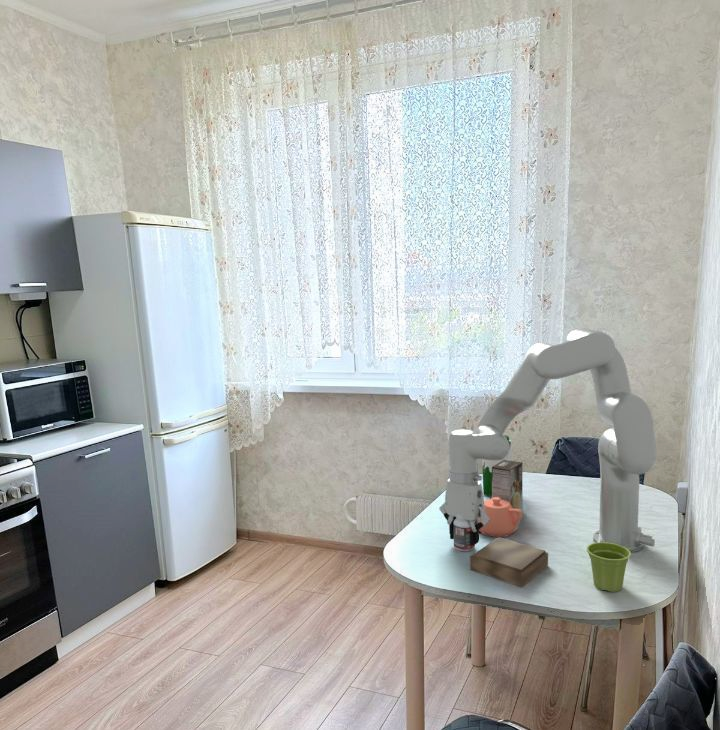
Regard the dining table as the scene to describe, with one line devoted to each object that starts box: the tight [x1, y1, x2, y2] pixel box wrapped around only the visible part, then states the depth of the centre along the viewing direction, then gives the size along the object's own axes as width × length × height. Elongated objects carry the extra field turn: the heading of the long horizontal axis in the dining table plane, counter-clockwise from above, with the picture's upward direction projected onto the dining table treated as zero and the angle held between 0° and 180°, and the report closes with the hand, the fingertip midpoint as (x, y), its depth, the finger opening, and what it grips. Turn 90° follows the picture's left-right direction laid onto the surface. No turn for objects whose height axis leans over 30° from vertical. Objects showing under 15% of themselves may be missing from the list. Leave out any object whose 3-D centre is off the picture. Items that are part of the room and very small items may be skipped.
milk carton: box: [482, 434, 512, 497], centre depth 199 cm, size 9×9×20 cm
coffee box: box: [491, 460, 524, 516], centre depth 180 cm, size 9×6×16 cm
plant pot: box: [586, 542, 632, 593], centre depth 136 cm, size 9×9×9 cm
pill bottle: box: [453, 515, 476, 552], centre depth 158 cm, size 6×6×10 cm
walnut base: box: [469, 537, 549, 588], centre depth 147 cm, size 14×14×4 cm
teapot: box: [475, 497, 524, 538], centre depth 170 cm, size 12×18×10 cm
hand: (464, 540), depth 159 cm, fingers closed on pill bottle, 5 cm apart
